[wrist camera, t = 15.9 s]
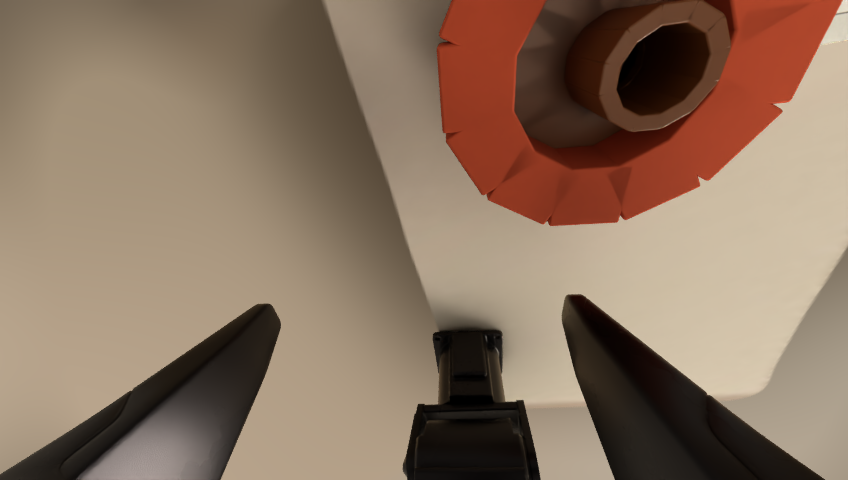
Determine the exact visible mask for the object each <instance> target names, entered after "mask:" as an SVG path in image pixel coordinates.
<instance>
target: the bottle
mask: <svg viewBox="0 0 848 480" xmlns="http://www.w3.org/2000/svg"><path fill="white" fill-rule="evenodd" d="M730 46H731V40H730V35H729V30H728V25H727V20H726V16H725V15H724V13H723V12H721V11H720V10H718V9H716V8H715V7H713V6H712V5H710V4H708V3H707V2H705V1H704V0H677V1H676V0H547V1H546V2H545V4H544V6H543V8H542V10H541V12H540V14H539V16H538V17H537V19H536V21H535V23H534V25H533V27H532V29H531V31H530V32H529V34H528V36H527V38H526V40H525V42H524V44H523V46H522V47H521V49H520V51H519V53H518V55H517V65H516V84H515V102H514V112H515V114H516V116H517V118H518V119H519V121H520V123H521V125H522V127H523V129H524V131H525V133H526V134H527V135H528V136H530V137H532V138H534V139H536V140H538V141H540V142H542V143H544V144H546V145H548V146H550V147H552V148H554V149H556V148H568V147H580V146H593V145H595V144H597V143H599V142H601V141H602V140H604V139H606V138H608V137H610V136H611V135H613V134H615V133H617V132H618V131H620V130H622V129H625V130H627V131H631V132H637V131H647V130H656V129H660V128H664V127H665V126H667V125H669V124H671V123H673V122H674V121H676V120H678V119H680V118H682V117H683V116H685V115H687V114H689V113H690V112H692V111H693V110H694V109H695V108H696V107H697V106H698V105H699V104H700V102H701V101H702V100H703V99H704V98H705V97H706V96H707V95H708V93H709V92H710V91H711V90H712V89H713V88H714V87H715V85H716V84H717V83H718V82H717V81H719V80H720V77H721V74H722V72H723V69H724V66H725V63H726V61H727V58H728V55H729V52H730V50H731V47H730Z"/></svg>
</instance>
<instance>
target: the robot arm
mask: <svg viewBox="0 0 848 480" xmlns="http://www.w3.org/2000/svg"><path fill="white" fill-rule="evenodd" d="M562 324H563V328H564V332H565V336H566V340H567V344H568V348H569V352H570V356H571V359H572V363H573V367H574V371H575V374H576V377H577V380H578V383H579V386H580V388H581V391H582V394H583V396H584V399H585V401H586V404H587V407H588V409H589V412H590V415H591V417H592V420H593V422H594V425H595V428H596V431H597V433H598V436H599V439H600V441H601V444H602V446H603V449H604V452H605V454H606V457H607V460H608V462H609V465H610V468H611V470H612V473H613V475H614V478H615V480H825V479H823V478H822V477H821V476H819V475H818V474H816V473H815V472H813V471H812V470H811V469H809V468H808V467H806V466H805V465H803V464H802V463H800V462H799V461H798V460H796V459H795V458H793V457H792V456H790V455H789V454H788V453H786V452H785V451H784V450H782V449H781V448H779V447H778V446H776V445H775V444H774V443H772V442H771V441H770V440H768V439H767V438H765V437H764V436H763V435H761V434H760V433H758V432H757V431H756V430H754V429H753V428H752V427H750V426H749V425H748V424H747V423H745V422H744V421H743V420H741V419H740V418H739V417H737V416H736V415H735V414H733V413H732V412H731V411H730V410H728V409H727V408H726V407H724V406H723V405H722V404H721V403H719V402H718V401H717V400H716V399H714V398H713V397H712V396H710V395H707V393H706V392H705V391H704V390H703V389H701V388H700V387H699V386H698V385H696V384H695V383H694V382H693V381H691V380H690V379H689V378H687V377H686V376H685V375H684V374H682V373H681V372H680V371H679V370H677V369H676V368H675V367H674V366H672V365H671V364H670V363H668V362H667V361H666V360H665V359H663V358H662V357H661V356H660V355H658V354H657V353H656V352H654V351H653V350H652V349H651V348H649V347H648V346H647V345H646V344H644V343H643V342H642V341H641V340H639V339H638V338H637V337H635V336H634V335H633V334H632V333H630V332H629V331H628V330H627V329H625V328H624V327H623V326H622V325H620V324H619V323H618V322H616V321H615V320H614V319H613V318H611V317H610V316H609V315H608V314H606V313H605V312H604V311H602V310H601V309H600V308H599V307H597V306H596V305H595V304H594V303H592V302H591V301H590V300H589V299H587V298H586V297H585V296H583V295H581V294H571V295H567V296H566V297H565V300H564V306H563V311H562ZM280 328H281V323H280V319H279V317H278V316H277V314H276V312H275V310H274V308H273V306H272V305H270V304H257V305H255V306H253V307H252V308H250V309H249V310H248V311H246V312H245V313H243V314H242V315H240V316H239V317H237V318H236V319H234V320H233V321H232V322H230V323H229V324H227V325H226V326H224V327H223V328H221V329H220V330H218V331H217V332H215V333H214V334H213V335H211V336H210V337H208V338H207V339H205V340H204V341H202V342H201V343H199V344H198V345H197V346H195V347H194V348H192V349H191V350H189V351H188V352H186V353H185V354H184V355H182V356H180V357H179V358H177V359H176V360H175V361H173V362H172V363H170V364H169V365H167V366H166V367H164V368H163V369H161V370H160V371H158V372H157V373H156V374H154V375H153V376H151V377H150V378H148V379H147V380H145V381H144V382H142V383H141V384H140V385H138V386H137V387H135V388H134V389H133V390H132V391H129V392H128V393H126V394H125V395H123V396H122V397H121V398H119V399H117V400H116V401H115V402H113V403H112V404H110V405H109V406H107V407H106V408H104V409H103V410H101V411H100V412H98V413H97V414H95V415H94V416H92V417H91V418H89V419H88V420H86V421H85V422H83V423H81V424H80V425H78V426H77V427H75V428H73V429H72V430H70V431H69V432H67V433H66V434H64V435H63V436H61V437H59V438H58V439H56V440H54V441H53V442H51V443H50V444H48V445H46V446H45V447H43V448H42V449H40V450H39V451H37V452H35V453H34V454H32V455H30V456H29V457H27V458H26V459H24V460H22V461H21V462H19V463H18V464H16V465H15V466H13V467H11V468H10V469H8V470H6V471H5V472H3V473H2V474H0V480H220V479H221V477H222V475H223V472H224V470H225V468H226V466H227V463H228V461H229V459H230V456H231V454H232V452H233V449H234V447H235V445H236V442H237V440H238V438H239V435H240V433H241V431H242V428H243V426H244V424H245V421H246V419H247V416H248V414H249V412H250V410H251V407H252V405H253V403H254V400H255V398H256V396H257V393H258V391H259V389H260V387H261V384H262V382H263V379H264V377H265V374H266V372H267V369H268V366H269V363H270V360H271V356H272V353H273V350H274V347H275V344H276V341H277V337H278V335H279V331H280ZM433 343H434V349H435V355H436V361H437V366H438V372H439V397H438V404H437V405H425V404H418V407H417V411H416V414H415V415H414V420H413V425H412V430H411V435H410V440H409V445H408V450H407V454H406V457H405V460H404V463H403V472H404V474H405V475H406V476H407V480H540V473H539V467H538V462H537V458H536V452H535V448H534V443H533V439H532V435H531V431H530V427H529V422H528V418H527V414H526V410H525V405H524V401H523V400H516V402H505V396H504V389H503V383H502V376H501V374H502V361H503V334H502V332H501V331H498V330H492V331H456V332H435V333H434V334H433Z"/></svg>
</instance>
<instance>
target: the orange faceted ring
mask: <svg viewBox="0 0 848 480" xmlns="http://www.w3.org/2000/svg"><path fill="white" fill-rule="evenodd" d="M546 1H547V0H452V1H451V4H450V6H449V9H448V11H447V14H446V17H445V19H444V22H443V24H442V27H441V29H440V32H439V36H440V37H441V38H442V39H444V40H446V41H448V42H443V43H440V44H439V45H438V47H437V60H438V74H439V88H440V102H441V116H442V130H443V133H446V142H447V144H448V145H449V147H450V148H451V150H452V151H453V153H454V154H455V156H456V157H457V159H458V160H459V162H460V163H461V165H462V166H463V168H464V169H465V171H466V172H467V174H468V175H469V176H470V178H471V179H472V181H473V182H474V184H475V185H476V187H477V188H478V190H479V191H480V193H481V194H482V195H485V194H487V198H488V200H489V201H491V202H494V203H496V204H498V205H500V206H503V207H505V208H507V209H509V210H512V211H514V212H516V213H518V214H521V215H523V216H525V217H527V218H529V219H532V220H534V221H536V222H538V223H541V224H545V222H546V221H548V223H549V225H550V226H559V225H578V224H597V223H615V222H618V220H619V217H620V216H621V217H622V218H623V219H624V220H627V219H629V218H632V217H634V216H636V215H638V214H640V213H643V212H645V211H647V210H649V209H651V208H654V207H656V206H658V205H660V204H662V203H665V202H667V201H669V200H671V199H673V198H676V197H678V196H680V195H682V194H684V193H687V192H689V191H691V190H693V189H695V188H698V187H699V186H700V183H699V179H698V176H699V177H701V178H702V179H704V180H710V179H711V178H712V177H713V176H714V175H715V174H716V173H718V172H719V171H720V170H721V169H722V168H723V167H724V166H725V165H726V164H727V163H728V162H729V161H730V160H731V159H733V158H734V157H735V156H736V155H737V154H738V153H739V152H740V151H741V150H742V149H743V148H744V147H745V146H747V145H748V144H749V143H750V142H751V141H752V140H753V139H754V138H755V137H756V136H757V135H758V134H759V133H761V132H762V131H763V130H764V129H765V128H766V127H767V126H768V125H769V124H770V123H771V122H772V121H773V120H774V119H776V118H777V117H778V116H779V115H780V114H781V113H782V110H781V109H780V108H778V107H777V106H775V105H773V104H775V103H786V102H789V101H790V100H791V99H792V97H793V95H794V94H795V92H796V90H797V88H798V86H799V84H800V82H801V80H802V78H803V76H804V74H805V72H806V70H807V69H808V67H809V65H810V63H811V61H812V59H813V57H814V55H815V53H816V51H817V49H818V47H819V45H820V44H821V42H822V40H823V38H824V36H825V34H826V32H827V30H828V28H829V26H830V24H831V22H832V20H833V19H834V17H835V15H836V13H837V11H838V9H839V7H840V5H841V3H842V1H843V0H704V1H705V2H707V3H708V4H710V5H712V6H713V7H715V8H716V9H718V10H720V11H721V12H723V13H724V15H725V16H726V20H727V25H728V30H729V35H730V40H731V46H730V47H731V50H730V52H729V55H728V58H727V61H726V63H725V66H724V69H723V72H722V74H721V77H720V80H719V81H717V82H718V83H717V84H716V85H715V87H714V88H713V89H712V90H711V91H710V92H709V93H708V95H707V96H706V97H705V98H704V99H703V100H702V101H701V102H700V104H699V105H698V106H697V107H696V108H695V109H694V110H693V111H692V112H690V113H689V114H687V115H685V116H683V117H682V118H680V119H678V120H676V121H674V122H673V123H671V124H669V125H667V126H665V127H664V128H660V129H656V130H647V131H637V132H631V131H627V130H625V129H622V130H620V131H618V132H617V133H615V134H613V135H611V136H610V137H608V138H606V139H604V140H602V141H601V142H599V143H597V144H595V145H593V146H580V147H568V148H556V149H554V148H552V147H550V146H548V145H546V144H544V143H542V142H540V141H538V140H536V139H534V138H532V137H530V136H528V135H527V134H526V133H525V131H524V129H523V127H522V125H521V123H520V121H519V119H518V118H517V116H516V114H515V112H514V102H515V84H516V65H517V55H518V53H519V51H520V49H521V47H522V46H523V44H524V42H525V40H526V38H527V36H528V34H529V32H530V31H531V29H532V27H533V25H534V23H535V21H536V19H537V17H538V16H539V14H540V12H541V10H542V8H543V6H544V4H545V2H546ZM676 1H677V0H676Z"/></svg>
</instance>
